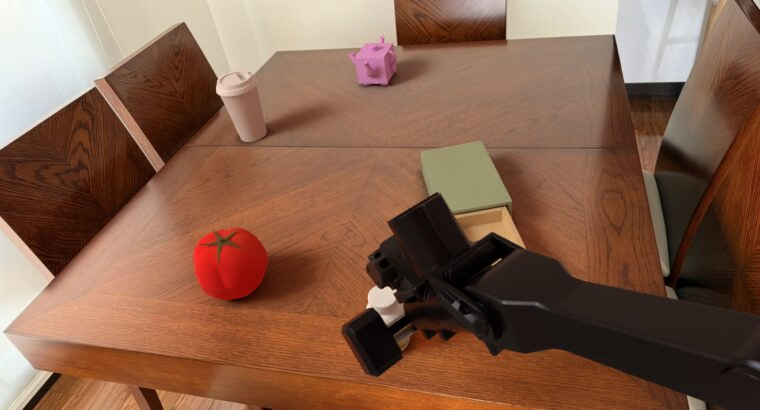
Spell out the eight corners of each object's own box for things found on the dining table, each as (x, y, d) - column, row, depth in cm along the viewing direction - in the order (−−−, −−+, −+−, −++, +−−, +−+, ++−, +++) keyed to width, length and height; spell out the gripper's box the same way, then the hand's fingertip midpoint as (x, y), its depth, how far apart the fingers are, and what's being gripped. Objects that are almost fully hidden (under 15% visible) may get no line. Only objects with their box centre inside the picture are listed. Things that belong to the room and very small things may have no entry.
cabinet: (511, 224, 86) (512, 201, 83) (441, 236, 86) (440, 213, 83) (481, 162, 101) (481, 140, 98) (422, 172, 101) (420, 151, 98)
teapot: (363, 65, 145) (357, 31, 139) (407, 65, 141) (403, 30, 135) (342, 95, 132) (335, 60, 126) (390, 96, 128) (385, 59, 122)
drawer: (557, 326, 69) (560, 309, 66) (478, 340, 69) (478, 324, 66) (507, 221, 86) (508, 205, 84) (444, 232, 86) (443, 216, 84)
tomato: (192, 295, 84) (164, 248, 77) (242, 251, 90) (221, 204, 83) (240, 324, 78) (215, 275, 70) (289, 274, 84) (272, 226, 77)
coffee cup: (271, 141, 119) (253, 83, 109) (232, 148, 119) (209, 91, 109) (274, 121, 126) (257, 65, 117) (236, 127, 126) (216, 72, 117)
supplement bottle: (416, 345, 70) (410, 301, 64) (381, 361, 69) (371, 318, 63) (400, 318, 74) (393, 274, 68) (367, 332, 73) (356, 289, 67)
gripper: (480, 188, 53) (420, 217, 67) (333, 281, 45) (301, 291, 60) (535, 279, 53) (463, 288, 67) (396, 387, 45) (349, 372, 60)
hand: (396, 307), depth 63 cm, fingers open, 9 cm apart
